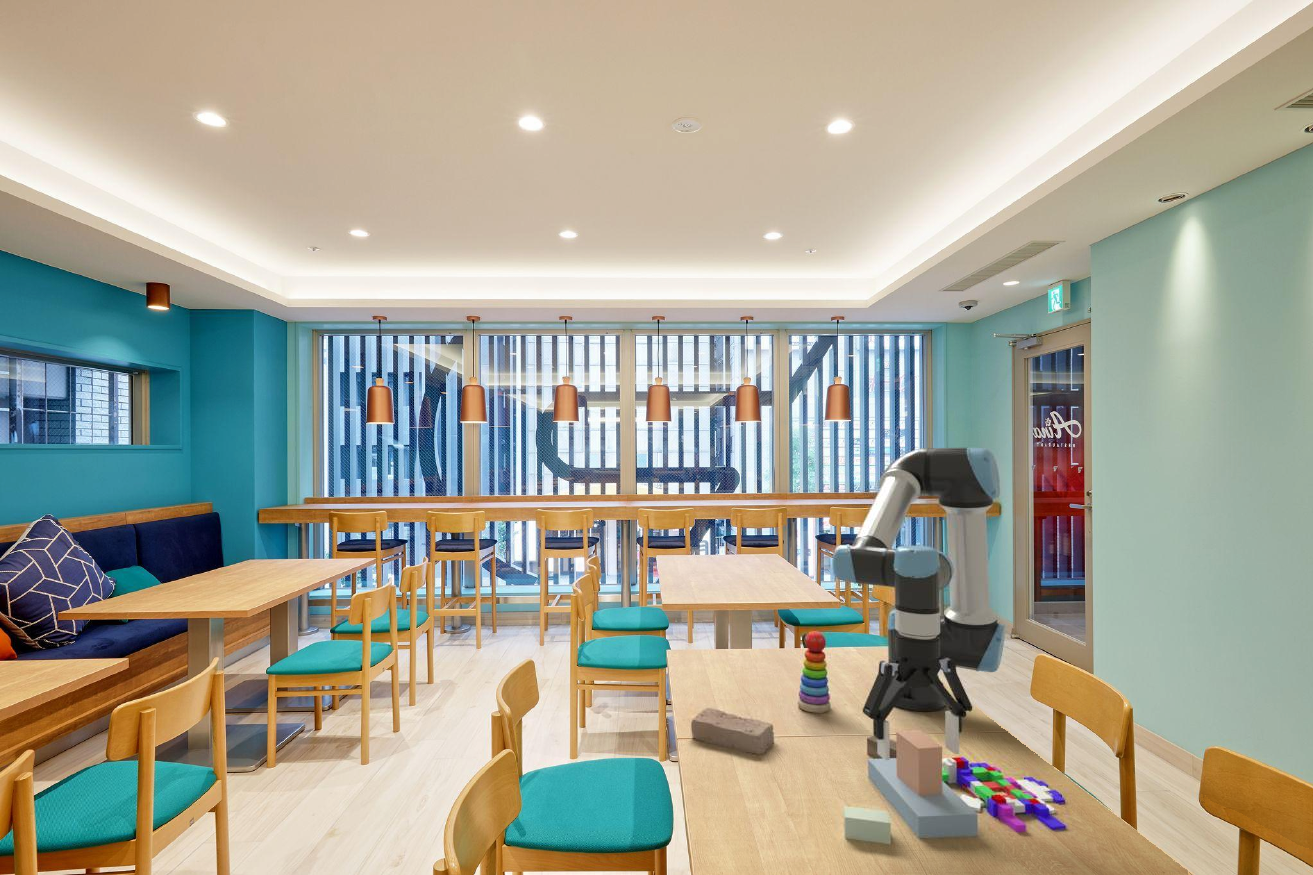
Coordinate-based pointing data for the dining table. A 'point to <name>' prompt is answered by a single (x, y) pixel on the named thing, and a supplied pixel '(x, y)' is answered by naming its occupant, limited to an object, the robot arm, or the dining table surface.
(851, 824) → the sage block
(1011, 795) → the building block set
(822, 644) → the stacking toy
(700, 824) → the dining table surface
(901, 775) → the terracotta block
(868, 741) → the walnut block
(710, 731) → the brick
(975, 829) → the base block
